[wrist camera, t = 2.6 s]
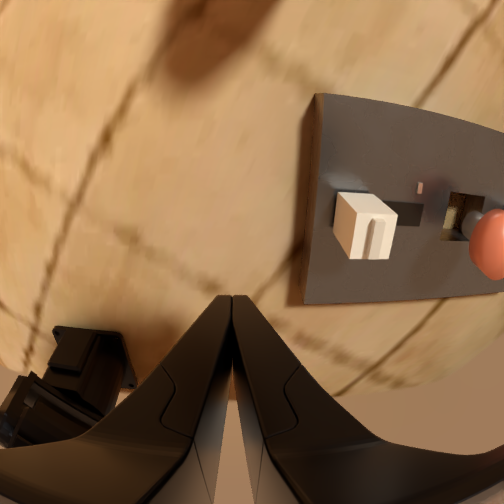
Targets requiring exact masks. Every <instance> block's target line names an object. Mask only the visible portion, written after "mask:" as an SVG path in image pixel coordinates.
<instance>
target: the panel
mask: <svg viewBox="0 0 504 504" xmlns="http://www.w3.org/2000/svg"><path fill="white" fill-rule="evenodd" d="M338 192H348V193H364V194H374V195H375V196H376V197H377V198H379V199H380V200H381V201H382V202H383V203H385V204H386V205H387V206H388V207H389V208H390V209H392V210H393V211H394V212H395V213H396V214H397V215H398V217H397V222H396V227H395V232H394V236H393V241H392V246H391V250H390V254H389V259H349V258H348V256H347V254H346V253H345V251H344V249H343V248H342V246H341V244H340V243H339V241H338V240H337V238H336V236H335V235H334V233H333V226H334V218H335V210H336V202H337V193H338ZM451 192H457V193H464V194H467V196H466V201H465V205H464V209H463V214H462V218H461V222H460V226H459V229H442V228H443V224H444V220H445V216H446V211H447V207H448V202H449V198H450V193H451ZM493 209H502V210H504V133H502V132H499V131H496V130H493V129H490V128H487V127H484V126H481V125H478V124H474V123H471V122H468V121H464V120H461V119H457V118H454V117H450V116H446V115H443V114H439V113H435V112H431V111H426V110H422V109H418V108H413V107H409V106H404V105H399V104H394V103H388V102H383V101H377V100H371V99H365V98H358V97H351V96H344V95H336V94H327V93H315V102H314V120H313V137H312V152H311V166H310V178H309V191H308V202H307V213H306V224H305V234H304V244H303V253H302V262H301V271H300V280H299V289H300V292H301V296H302V299H303V303H304V304H331V303H359V302H380V301H398V300H414V299H429V298H442V297H454V296H466V295H477V294H487V293H496V292H504V278H503V279H500V280H491V279H490V278H488V277H487V276H486V275H485V274H484V273H483V272H482V271H481V270H480V269H479V268H478V267H477V266H476V265H475V264H474V263H473V262H472V261H471V259H470V256H469V242H470V240H469V239H467V238H466V237H465V236H464V235H463V233H462V223H463V220H464V218H465V217H466V215H467V214H468V213H470V212H471V211H478V212H480V213H481V214H483V215H485V214H486V213H487V212H489V211H491V210H493Z"/></svg>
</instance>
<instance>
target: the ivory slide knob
mask: <svg viewBox="0 0 504 504" xmlns="http://www.w3.org/2000/svg"><path fill="white" fill-rule="evenodd" d="M397 217H398V215H397V214H396V213H395V212H394V211H393V210H392V209H390V208H389V207H388V206H387V205H386V204H385V203H383V202H382V201H381V200H380V199H379V198H377V197H376V196H375V195H374V194H364V193H348V192H338V193H337V202H336V210H335V218H334V226H333V233H334V235H335V236H336V238H337V240H338V241H339V243H340V244H341V246H342V248H343V249H344V251H345V253H346V254H347V256H348V258H349V259H389V254H390V250H391V246H392V241H393V236H394V232H395V227H396V222H397Z"/></svg>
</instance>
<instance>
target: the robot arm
mask: <svg viewBox="0 0 504 504" xmlns="http://www.w3.org/2000/svg"><path fill="white" fill-rule="evenodd" d="M52 333H53V335H54V338H55V340H56V342H57V344H58V345H57V347H56V349H55V351H54V352H53V354H52V356H51V358H50V360H49V361H48V368H47V370H46V372H45V374H44V376H43V378H42V379H41V378H39V377H38V376H37V374H35V373H34V372H33V371H31V372H30V374H29V376H28V377H27V376H26V377H25V376H20V375H19V376H18V378H17V379H16V382H15V383H14V385H13V387H12V388H11V390H10V392H9V394H8V395H7V397H6V398H5V400H4V402H3V403H2V405H1V406H0V445H1V446H2V447H4V448H5V449H0V504H213V502H214V495H215V488H216V481H217V474H218V467H219V460H220V453H221V446H222V439H223V431H224V424H225V418H226V410H227V404H228V397H229V390H230V383H231V375H232V360H233V376H234V383H235V390H236V397H237V403H238V410H239V416H240V423H241V429H242V435H243V441H244V447H245V453H246V459H247V465H248V471H249V477H250V482H251V488H252V493H253V499H254V504H504V445H501V446H499V447H497V448H495V449H494V450H491V451H488V452H486V453H482V454H476V455H458V454H450V453H444V452H436V451H431V450H425V449H419V448H414V447H409V446H404V445H399V444H394V443H391V442H388V441H385V440H383V439H381V438H379V437H378V436H376V435H375V434H373V433H371V432H370V431H369V430H368V429H367V428H366V427H364V426H363V425H362V424H361V423H360V422H359V421H358V420H357V419H355V418H354V417H353V416H352V415H351V414H350V413H349V412H348V411H346V410H345V409H344V408H343V407H342V406H341V405H340V404H339V403H337V402H336V401H335V400H334V399H333V398H332V397H331V396H330V395H329V394H328V393H327V392H326V391H325V390H324V389H323V388H322V387H321V386H320V385H319V384H318V383H317V381H316V380H315V379H314V378H313V377H312V376H311V375H310V373H309V372H308V371H307V370H306V368H305V367H304V366H303V365H302V364H301V362H300V361H299V360H298V359H297V357H296V356H295V355H294V354H293V352H292V351H291V350H290V349H289V347H288V346H287V345H286V344H285V343H284V341H283V340H282V339H281V337H280V336H279V335H278V334H277V332H276V331H275V330H274V329H273V327H272V326H271V325H270V324H269V322H268V321H267V320H266V319H265V317H264V316H263V315H262V314H261V312H260V311H259V310H258V308H257V307H256V306H255V305H254V303H253V302H252V301H251V299H250V298H249V297H248V296H247V295H234V296H233V297H232V296H231V295H217V296H216V297H215V298H214V300H213V301H212V302H211V303H210V304H209V305H208V307H207V308H206V309H205V310H204V311H203V312H202V314H201V315H200V316H199V317H198V318H197V320H196V321H195V322H194V323H193V324H192V325H191V327H190V328H189V329H188V330H187V331H186V332H185V334H184V335H183V336H182V337H181V338H180V339H179V341H178V342H177V343H176V344H175V345H174V346H173V348H172V349H171V350H170V351H169V352H168V353H167V355H166V356H165V357H164V358H163V359H162V360H161V362H160V364H158V365H157V366H156V367H155V368H154V370H153V371H152V372H151V373H150V374H149V375H148V376H147V377H146V378H145V380H144V381H143V382H142V383H141V384H140V385H139V386H138V387H137V385H138V383H137V380H136V377H135V374H134V371H133V368H132V365H131V362H130V359H129V355H128V352H127V349H126V346H125V342H124V339H123V336H122V335H121V334H120V333H118V332H113V331H101V330H91V329H81V328H72V327H63V326H55V327H54V328H53V330H52ZM116 338H117V339H116ZM121 388H128V389H135V390H134V391H133V392H132V393H131V394H130V395H128V396H127V398H125V399H124V400H123V401H122V402H121V403H120V404H118V405H117V406H116V407H115V405H116V401H117V398H118V395H119V392H120V389H121Z"/></svg>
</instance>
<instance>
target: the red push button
mask: <svg viewBox="0 0 504 504" xmlns="http://www.w3.org/2000/svg"><path fill="white" fill-rule="evenodd" d="M462 233H463V235H464V236H465V237H466V238H467V239H469V240H470V242H469V256H470V259H471V261H472V262H473V263H474V264H475V265H476V266H477V267H478V268H479V269H480V270H481V271H482V272H483V273H484V274H485V275H486V276H487V277H488V278H490V279H491V280H500V279H503V278H504V210H502V209H493V210H491V211H489V212H487V213H486V214H485V215H483V214H481V213H480V212H478V211H471V212H470V213H468V214H467V215H466V217H465V218H464V220H463V223H462Z"/></svg>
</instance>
